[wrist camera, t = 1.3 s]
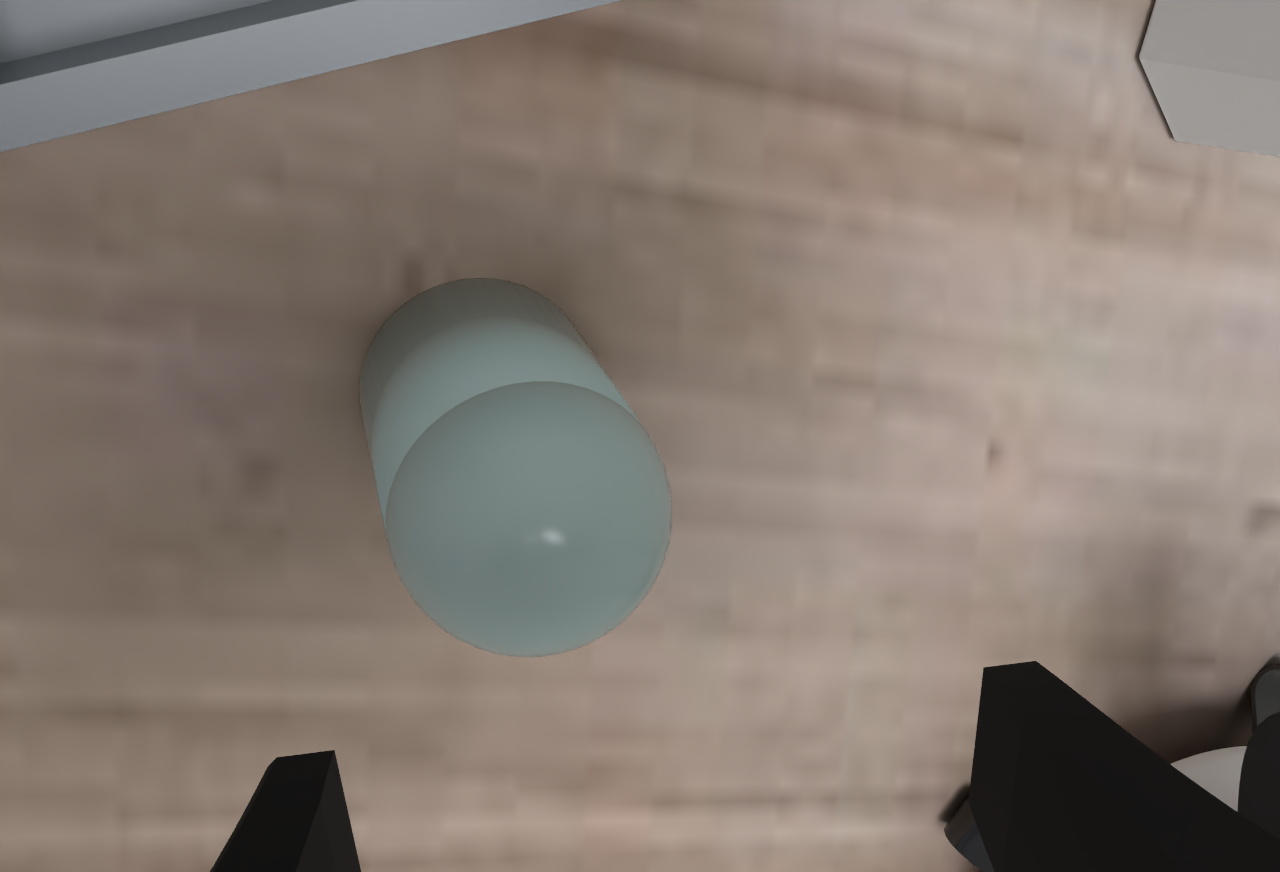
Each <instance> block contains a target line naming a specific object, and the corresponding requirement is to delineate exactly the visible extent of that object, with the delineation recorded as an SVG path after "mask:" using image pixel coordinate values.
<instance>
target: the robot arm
mask: <svg viewBox="0 0 1280 872" xmlns="http://www.w3.org/2000/svg"><path fill="white" fill-rule="evenodd" d="M969 805H970V808H971V811H972V813H973V816H974V819H975V822H976V824H977V827H978V830H979V833H980V835H981V838H982V841H983V844H984V846H985V849H986V851H987V854H988V857H989V859H990V862H991V864H992V867H993V869H994V872H1280V840H1279V839H1278V838H1276V837H1275V836H1273V835H1272V834H1270V833H1269V832H1267V831H1265V830H1264V829H1262V828H1261V827H1259V826H1258V825H1256V824H1255V823H1253V822H1252V821H1250V820H1249V819H1247V818H1246V817H1244V816H1243V815H1241V814H1240V813H1238V812H1237V811H1235V810H1234V809H1232V808H1231V807H1229V806H1228V805H1227V804H1225V803H1224V802H1222V801H1221V800H1219V799H1218V798H1217V797H1215V796H1214V795H1212V794H1211V793H1209V792H1208V791H1207V790H1205V789H1204V788H1202V787H1201V786H1199V785H1198V784H1197V783H1195V782H1194V781H1193V780H1191V779H1190V778H1188V777H1187V776H1186V775H1184V774H1183V773H1181V772H1180V771H1179V770H1177V769H1176V768H1175V767H1173V766H1172V765H1171V764H1169V763H1168V762H1167V761H1165V760H1164V759H1163V758H1161V757H1160V756H1159V755H1157V754H1156V753H1155V752H1153V751H1152V750H1151V749H1149V748H1148V747H1147V746H1145V745H1144V744H1143V743H1141V742H1140V741H1139V740H1137V739H1136V738H1135V737H1133V736H1132V735H1131V734H1130V733H1128V732H1127V731H1126V730H1124V729H1123V728H1122V727H1121V726H1119V725H1118V724H1117V723H1115V722H1114V721H1113V720H1112V719H1110V718H1109V717H1108V716H1106V715H1105V714H1104V713H1102V712H1101V711H1100V710H1099V709H1097V708H1096V707H1095V706H1094V705H1092V704H1091V703H1090V702H1088V701H1087V700H1086V699H1085V698H1083V697H1082V696H1081V695H1079V694H1078V693H1077V692H1076V691H1074V690H1073V689H1072V688H1071V687H1069V686H1068V685H1067V684H1065V683H1064V682H1063V681H1062V680H1060V679H1059V678H1058V677H1056V676H1055V675H1054V674H1052V673H1051V672H1050V671H1048V670H1047V669H1046V668H1044V667H1043V666H1042V665H1040V664H1039V663H1038V662H1036V661H1032V662H1024V663H1016V664H1008V665H1001V666H993V667H985V668H984V670H983V678H982V687H981V696H980V705H979V714H978V722H977V731H976V740H975V749H974V758H973V766H972V775H971V784H970V793H969ZM210 872H361V869H360V865H359V860H358V856H357V851H356V846H355V842H354V837H353V833H352V828H351V824H350V819H349V815H348V810H347V806H346V801H345V796H344V792H343V787H342V783H341V778H340V774H339V769H338V765H337V760H336V756H335V751H334V750H332V751H324V752H317V753H309V754H301V755H293V756H285V757H277V758H276V759H275V760H274V761H273V762H272V763H271V764H270V765H269V766H268V767H267V769H266V771H265V773H264V775H263V777H262V779H261V781H260V783H259V785H258V787H257V789H256V791H255V793H254V794H253V796H252V798H251V800H250V802H249V804H248V806H247V808H246V809H245V811H244V813H243V815H242V817H241V819H240V820H239V822H238V824H237V826H236V828H235V829H234V831H233V833H232V835H231V836H230V838H229V840H228V842H227V843H226V845H225V847H224V849H223V850H222V852H221V854H220V856H219V857H218V859H217V861H216V862H215V864H214V866H213V867H212V869H211V871H210Z"/></svg>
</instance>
